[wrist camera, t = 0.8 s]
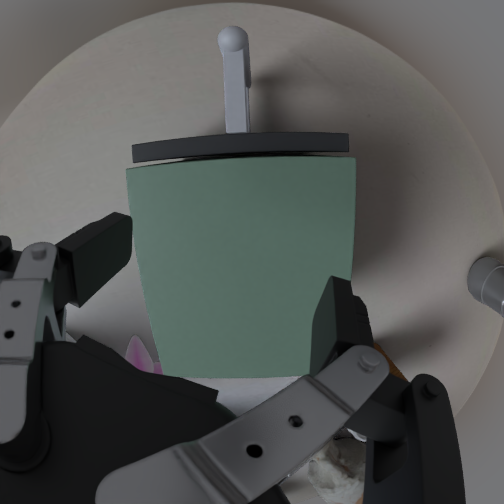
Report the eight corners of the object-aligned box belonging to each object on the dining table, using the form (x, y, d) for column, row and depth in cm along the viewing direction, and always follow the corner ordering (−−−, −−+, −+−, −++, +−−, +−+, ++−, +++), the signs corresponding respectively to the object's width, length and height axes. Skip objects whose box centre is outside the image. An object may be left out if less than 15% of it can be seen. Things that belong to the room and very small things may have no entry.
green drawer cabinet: (179, 160, 30) (125, 169, 17) (313, 154, 29) (356, 157, 16) (194, 297, 35) (163, 376, 22) (311, 294, 35) (338, 372, 21)
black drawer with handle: (178, 85, 27) (120, 40, 13) (307, 79, 27) (348, 25, 13) (193, 279, 34) (156, 360, 20) (310, 275, 34) (343, 357, 20)
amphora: (351, 522, 39) (294, 522, 26) (325, 471, 53) (262, 439, 40) (407, 489, 39) (387, 474, 26) (376, 441, 53) (337, 395, 40)
